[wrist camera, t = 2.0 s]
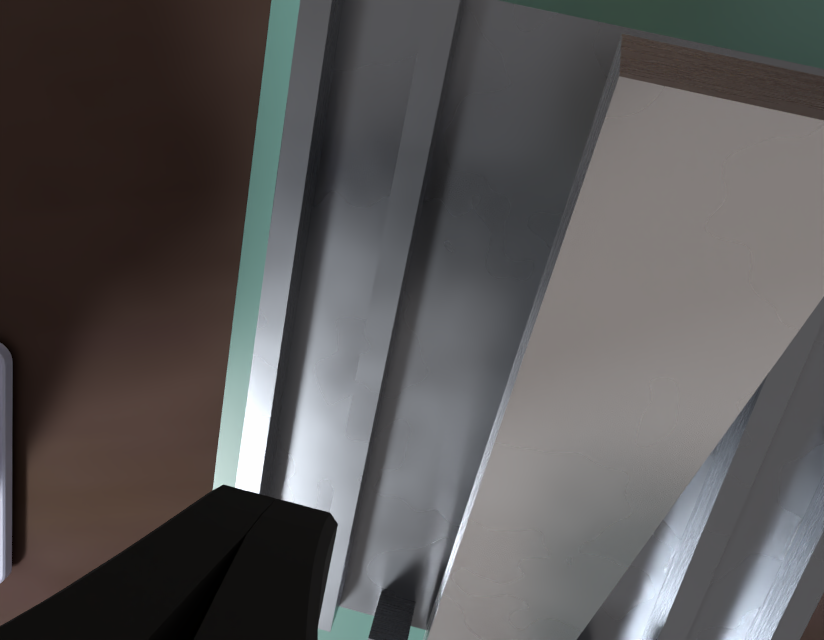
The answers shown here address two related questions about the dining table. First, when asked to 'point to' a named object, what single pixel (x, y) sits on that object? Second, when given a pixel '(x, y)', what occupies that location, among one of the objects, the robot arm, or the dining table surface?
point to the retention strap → (641, 331)
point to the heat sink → (480, 322)
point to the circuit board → (609, 3)
